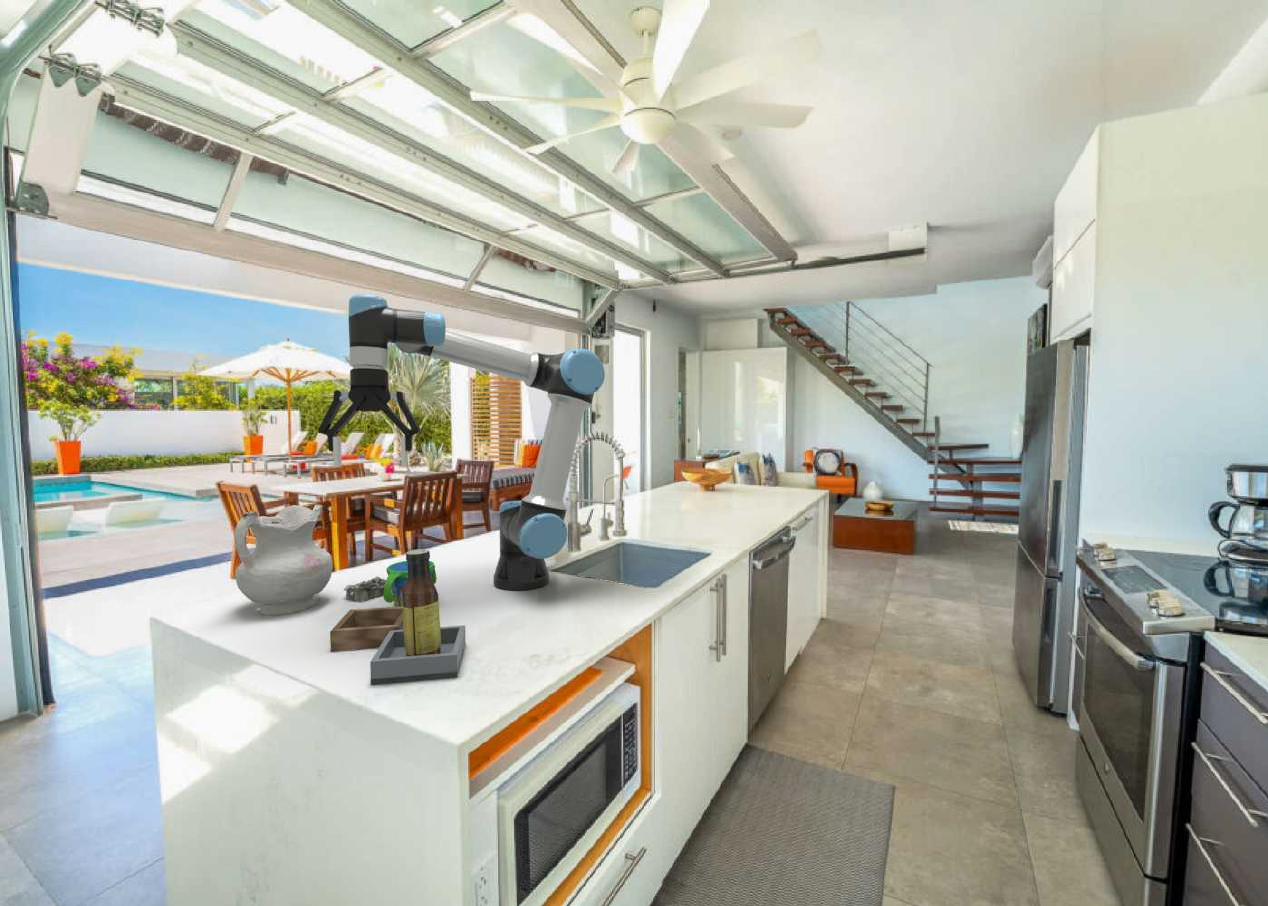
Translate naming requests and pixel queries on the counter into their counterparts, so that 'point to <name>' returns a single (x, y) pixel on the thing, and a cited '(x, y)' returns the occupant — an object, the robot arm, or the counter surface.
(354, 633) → the square brown frame
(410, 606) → the sauce bottle
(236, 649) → the counter surface
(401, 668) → the tray
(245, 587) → the ceramic pitcher
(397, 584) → the snack cup
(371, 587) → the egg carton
